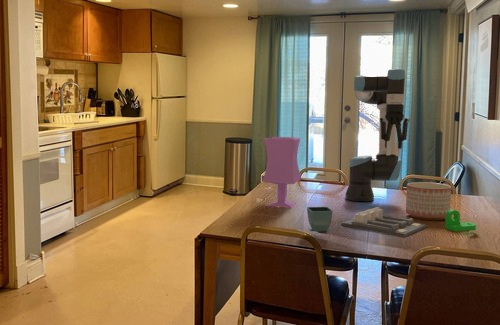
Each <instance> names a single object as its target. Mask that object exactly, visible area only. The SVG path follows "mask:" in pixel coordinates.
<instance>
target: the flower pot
mask: <svg viewBox="0 0 500 325" xmlns="http://www.w3.org/2000/svg"><path fill="white" fill-rule="evenodd" d="M306 210H307V220H308V223H309V226H310V228H311V229H312V231H313V232H315V233H316V232H327V231H328V230H329V229H330V226H331V225H332V224H331V223H332V220H333V219H332V218H333V211H334V210H332V209H331V208H329V207H328V206H308V207H306Z"/></svg>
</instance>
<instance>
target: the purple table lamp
mask: <svg viewBox="0 0 500 325" xmlns="http://www.w3.org/2000/svg"><path fill="white" fill-rule="evenodd" d="M263 140H264V144H265V148H266V154H267V163H266V168H265V171H264V174H263V178H262V182H263V183H265V184H267V183H268V184H273V185H277V199H276V200H275V201H276V202H273V201H272V202H273V203H270V202H269V203H270V204H268V203H267V204H265V207H270V206H279V207H278V208H280V207H287V208H286V209H290V208H292V207H293V206H294V205H295V206H296V205H297V204H296V202H297V201H296V202H295V201H287V200H288V199H287V198H288V185H295V184H296V183H297V182H300V181H301V180H302V175H301V172H300V168H299V163H298V152H299V147H300V142H301V141H300V140H301V137H292V136H290V137H289V136H287V137H286V136H272V137H264V138H263ZM295 206H294V207H295ZM294 207H293V208H294ZM293 208H292V209H293Z"/></svg>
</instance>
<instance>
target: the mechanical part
mask: <svg viewBox="0 0 500 325" xmlns="http://www.w3.org/2000/svg"><path fill="white" fill-rule="evenodd" d="M444 220H445V221H444V228H445V229H447V230H450V231H453V232H463V231H469V232H470V231H476V230H477V224H476V223H473V222H470V221H464V222H461V214H460V212H459V211H458V210H456V209H453V208H452V209H451V208H450V210H449V211H448V212H447V213H446V217H445V219H444Z"/></svg>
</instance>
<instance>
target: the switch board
mask: <svg viewBox="0 0 500 325" xmlns="http://www.w3.org/2000/svg"><path fill="white" fill-rule="evenodd" d="M340 224H341V226H344V227H347V228H349V227H350V228H354V229H358V230H359V229H360V230H365V231H370V232H373V233H374V232H375V233H381V234H387V235H389V236H390V235H391V236H396V237H401V238H405V237H407V236H410V235H412V234H414V233H415V234H416V233H417V232H419V231H421V230H423V229H425V228H428V224H425V223H420V222H414V218H413V217H410V218H408V219H407V218H400V217H394V216H389V215H388V216H387V215H383V218H378V217H375V221H372V220H368V222H367V224H366V223H360V222H354V218H352V219H348V220H346V221H342V222H341V223H340Z"/></svg>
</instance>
